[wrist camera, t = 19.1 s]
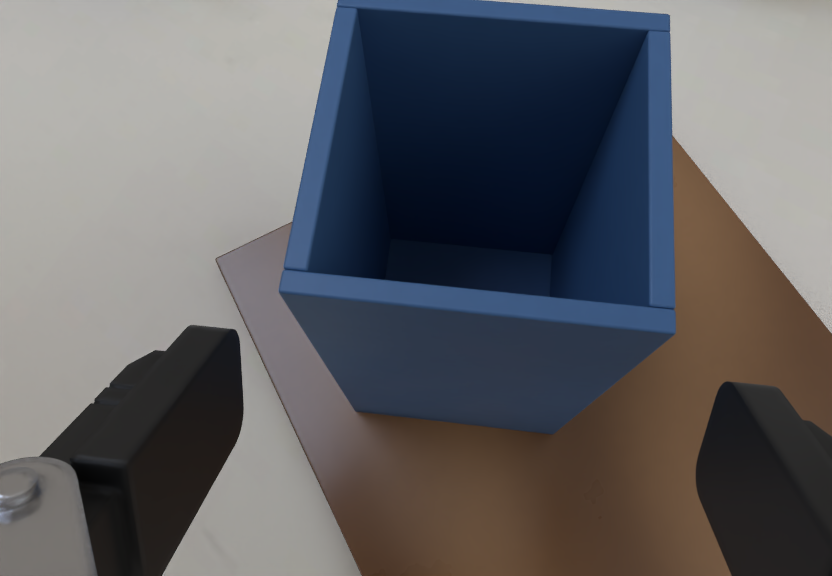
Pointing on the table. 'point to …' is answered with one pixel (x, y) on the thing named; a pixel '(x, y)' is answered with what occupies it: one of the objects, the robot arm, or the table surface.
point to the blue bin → (486, 208)
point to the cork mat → (568, 447)
